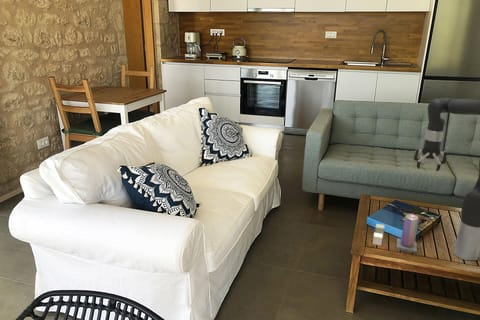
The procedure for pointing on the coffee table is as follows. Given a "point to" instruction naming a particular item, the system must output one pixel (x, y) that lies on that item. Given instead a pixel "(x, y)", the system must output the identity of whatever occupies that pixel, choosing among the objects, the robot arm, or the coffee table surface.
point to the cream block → (377, 239)
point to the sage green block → (379, 228)
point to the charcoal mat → (409, 249)
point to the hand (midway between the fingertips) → (427, 169)
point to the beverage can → (409, 230)
